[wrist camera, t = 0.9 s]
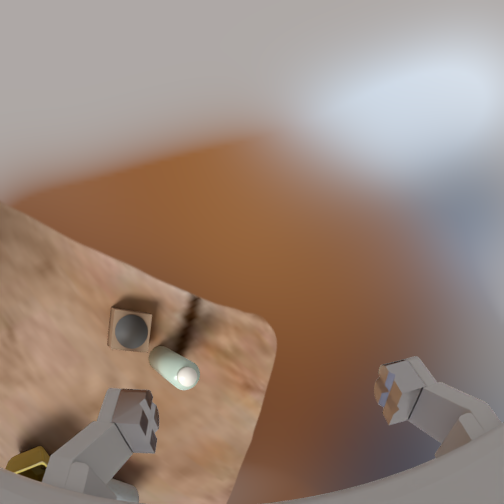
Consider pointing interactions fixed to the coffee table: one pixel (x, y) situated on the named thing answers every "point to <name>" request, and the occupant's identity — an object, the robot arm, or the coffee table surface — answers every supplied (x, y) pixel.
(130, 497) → the ceramic mug
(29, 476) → the flower pot
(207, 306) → the coffee table surface
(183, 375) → the column
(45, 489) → the robot arm
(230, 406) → the coffee table surface
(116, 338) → the base
